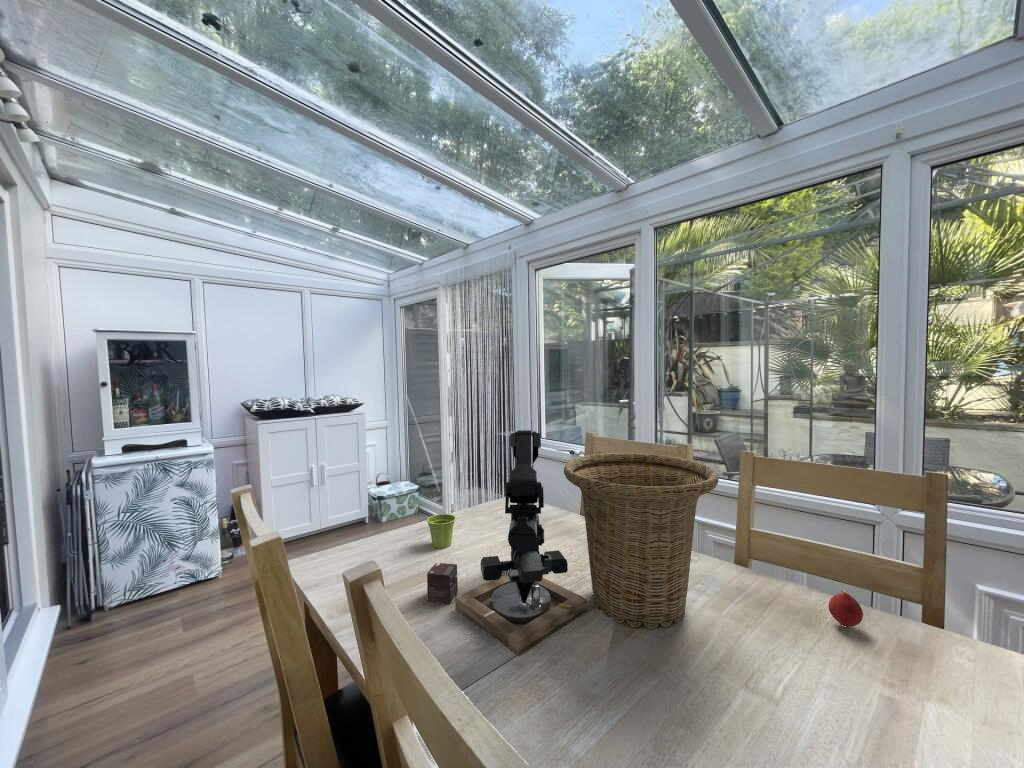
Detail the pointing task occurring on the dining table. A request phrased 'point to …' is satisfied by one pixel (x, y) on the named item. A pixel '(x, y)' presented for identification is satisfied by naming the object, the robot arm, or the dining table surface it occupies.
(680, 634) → the dining table surface
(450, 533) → the plant pot
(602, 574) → the wicker basket
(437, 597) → the box
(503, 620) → the square wooden tray
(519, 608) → the grey metal bowl
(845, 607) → the onion
